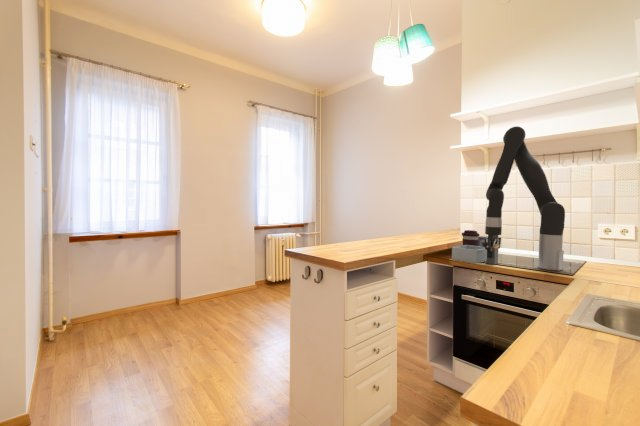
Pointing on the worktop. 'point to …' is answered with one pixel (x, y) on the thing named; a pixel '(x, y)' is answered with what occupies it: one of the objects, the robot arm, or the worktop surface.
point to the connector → (494, 256)
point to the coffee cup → (470, 237)
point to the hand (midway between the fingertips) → (492, 257)
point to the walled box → (469, 253)
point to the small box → (481, 241)
